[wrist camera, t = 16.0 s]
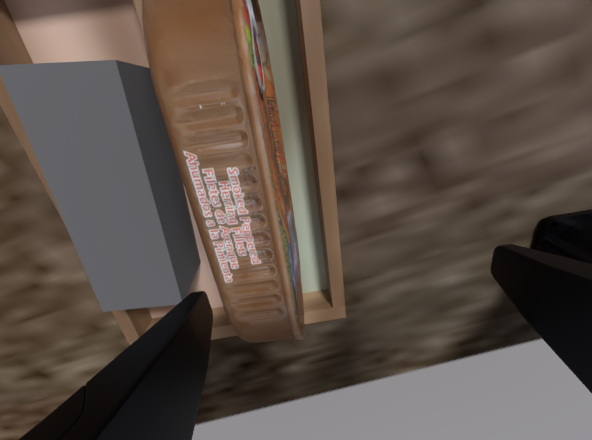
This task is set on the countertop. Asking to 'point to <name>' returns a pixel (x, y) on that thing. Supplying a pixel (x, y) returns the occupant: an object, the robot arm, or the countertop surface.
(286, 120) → the divided wooden tray
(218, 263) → the tin
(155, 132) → the bar
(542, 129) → the countertop surface
